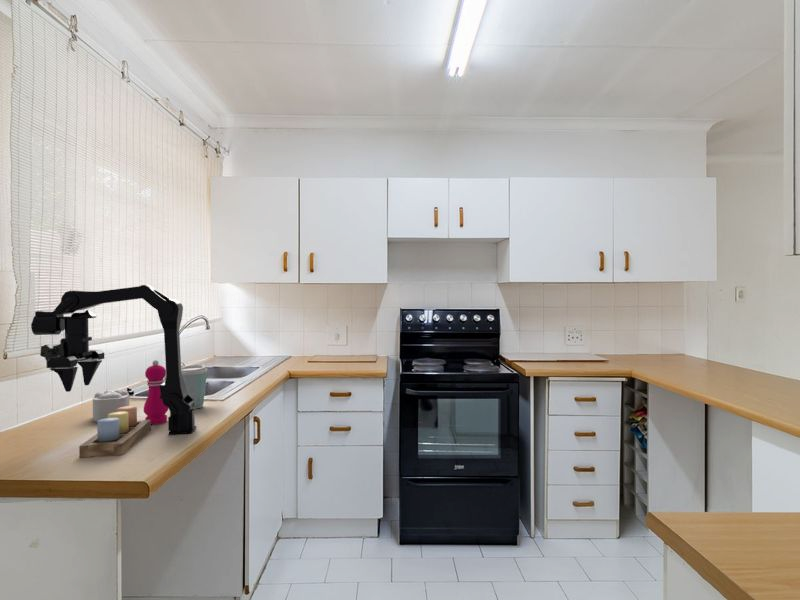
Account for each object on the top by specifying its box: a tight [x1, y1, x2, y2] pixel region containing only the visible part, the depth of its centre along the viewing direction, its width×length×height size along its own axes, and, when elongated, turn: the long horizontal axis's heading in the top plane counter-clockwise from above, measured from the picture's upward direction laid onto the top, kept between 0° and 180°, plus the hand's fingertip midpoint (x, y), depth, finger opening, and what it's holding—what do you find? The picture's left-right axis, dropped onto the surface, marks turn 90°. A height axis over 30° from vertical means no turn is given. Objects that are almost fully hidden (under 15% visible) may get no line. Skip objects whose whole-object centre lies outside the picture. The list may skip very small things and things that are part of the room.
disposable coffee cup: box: [181, 364, 209, 410], centre depth 179 cm, size 11×11×15 cm
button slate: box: [96, 418, 119, 442], centre depth 131 cm, size 5×5×5 cm
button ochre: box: [108, 412, 129, 434], centre depth 138 cm, size 5×5×5 cm
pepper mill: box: [143, 360, 169, 425], centre depth 159 cm, size 7×7×20 cm
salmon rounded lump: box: [117, 405, 138, 427], centre depth 144 cm, size 5×5×5 cm
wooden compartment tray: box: [78, 419, 152, 458], centre depth 138 cm, size 10×24×3 cm, turn 11°
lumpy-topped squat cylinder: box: [92, 388, 130, 422], centre depth 167 cm, size 10×13×9 cm
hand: (77, 388), depth 142 cm, fingers open, 9 cm apart
